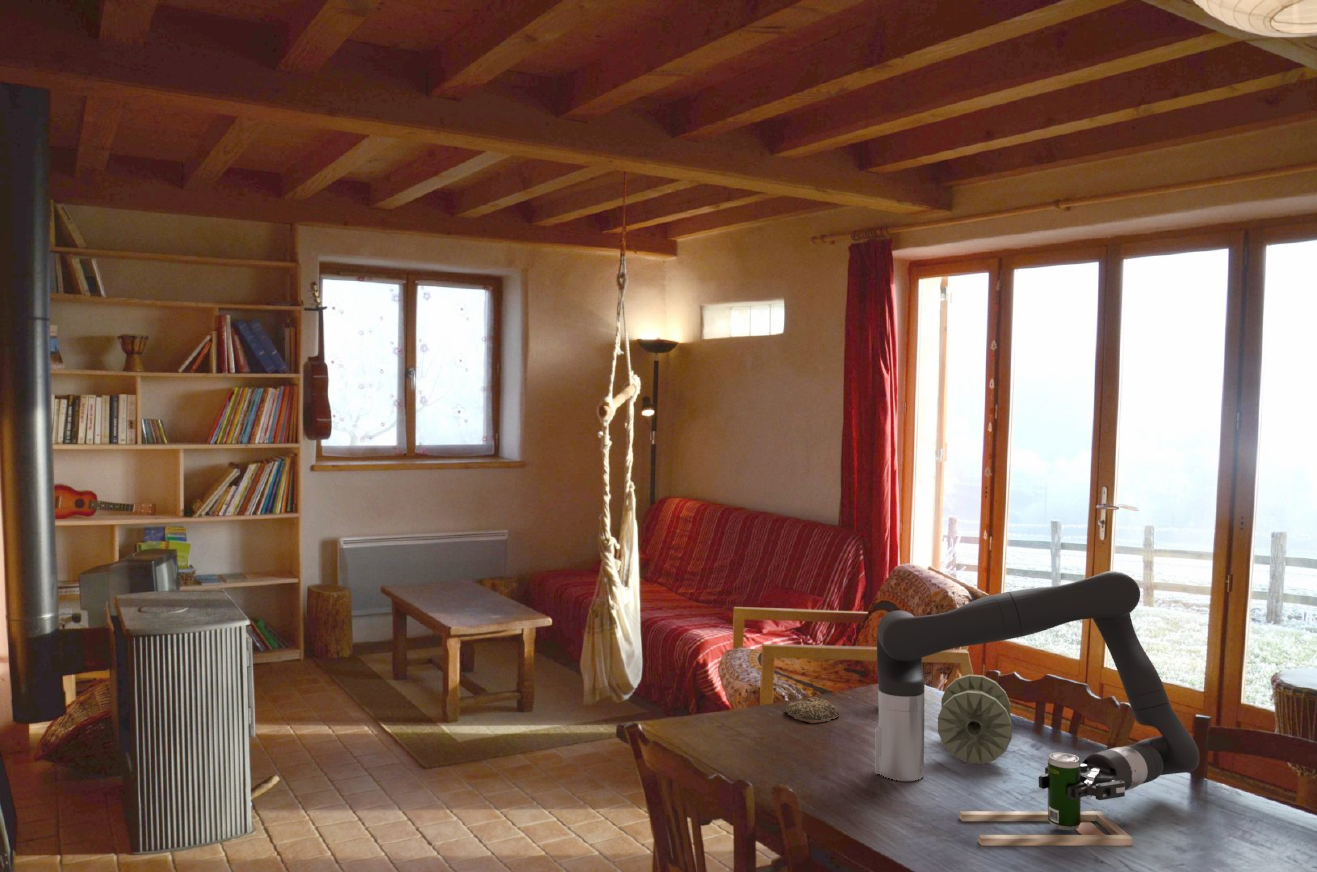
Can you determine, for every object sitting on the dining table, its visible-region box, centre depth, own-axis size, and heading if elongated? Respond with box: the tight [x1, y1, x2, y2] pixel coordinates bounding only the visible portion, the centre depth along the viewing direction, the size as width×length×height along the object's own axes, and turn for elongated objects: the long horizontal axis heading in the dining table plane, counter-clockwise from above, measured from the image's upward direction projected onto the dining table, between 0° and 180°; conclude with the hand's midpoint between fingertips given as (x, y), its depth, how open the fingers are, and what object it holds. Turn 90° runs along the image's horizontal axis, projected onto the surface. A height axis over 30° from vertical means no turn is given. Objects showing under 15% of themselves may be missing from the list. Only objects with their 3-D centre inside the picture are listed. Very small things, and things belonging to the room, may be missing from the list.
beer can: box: [1047, 752, 1082, 831], centre depth 176 cm, size 5×5×12 cm
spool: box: [937, 674, 1013, 765], centre depth 220 cm, size 16×15×15 cm
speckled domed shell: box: [784, 696, 841, 720], centre depth 246 cm, size 13×12×5 cm
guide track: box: [959, 810, 1134, 847], centre depth 176 cm, size 26×12×1 cm, turn 90°
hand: (1054, 787), depth 175 cm, fingers closed on beer can, 5 cm apart
